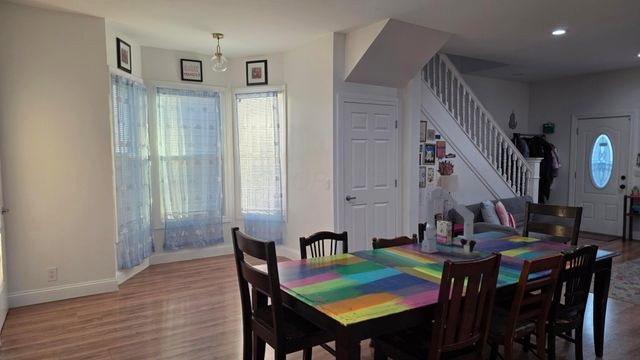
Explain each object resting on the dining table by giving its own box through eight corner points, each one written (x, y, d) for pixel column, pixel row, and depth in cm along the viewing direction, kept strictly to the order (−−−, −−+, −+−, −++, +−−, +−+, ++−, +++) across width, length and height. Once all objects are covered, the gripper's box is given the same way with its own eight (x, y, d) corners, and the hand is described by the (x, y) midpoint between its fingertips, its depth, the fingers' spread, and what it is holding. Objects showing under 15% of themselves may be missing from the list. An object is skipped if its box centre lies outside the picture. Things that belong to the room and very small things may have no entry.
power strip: (469, 258, 262) (469, 254, 261) (450, 254, 273) (450, 250, 272) (480, 255, 269) (480, 251, 269) (461, 251, 280) (461, 247, 280)
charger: (469, 255, 266) (469, 245, 266) (463, 253, 270) (463, 244, 269) (472, 254, 269) (472, 244, 268) (467, 253, 272) (467, 243, 272)
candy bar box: (451, 244, 299) (452, 222, 297) (446, 245, 297) (447, 223, 295) (441, 241, 309) (441, 220, 307) (436, 242, 307) (436, 220, 305)
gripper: (482, 231, 265) (481, 252, 266) (462, 228, 276) (461, 248, 277) (476, 233, 260) (475, 254, 261) (456, 229, 272) (455, 249, 273)
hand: (468, 251), depth 269 cm, fingers closed on charger, 4 cm apart
